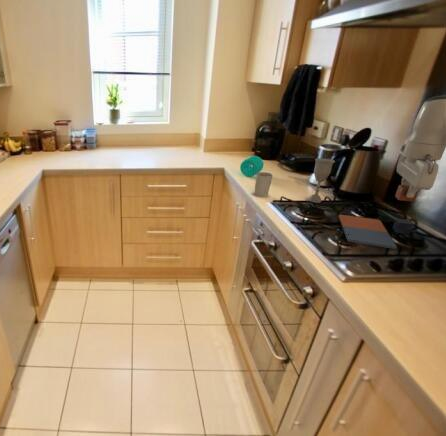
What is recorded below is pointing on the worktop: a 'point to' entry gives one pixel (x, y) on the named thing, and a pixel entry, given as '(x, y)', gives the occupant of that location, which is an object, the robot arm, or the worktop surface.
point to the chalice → (321, 175)
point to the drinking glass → (262, 184)
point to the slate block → (402, 226)
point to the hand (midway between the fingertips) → (406, 194)
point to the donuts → (247, 167)
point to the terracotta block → (402, 191)
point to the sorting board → (366, 231)
